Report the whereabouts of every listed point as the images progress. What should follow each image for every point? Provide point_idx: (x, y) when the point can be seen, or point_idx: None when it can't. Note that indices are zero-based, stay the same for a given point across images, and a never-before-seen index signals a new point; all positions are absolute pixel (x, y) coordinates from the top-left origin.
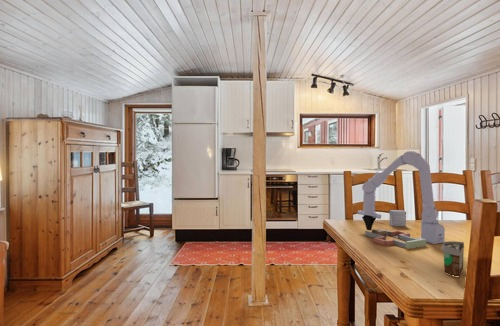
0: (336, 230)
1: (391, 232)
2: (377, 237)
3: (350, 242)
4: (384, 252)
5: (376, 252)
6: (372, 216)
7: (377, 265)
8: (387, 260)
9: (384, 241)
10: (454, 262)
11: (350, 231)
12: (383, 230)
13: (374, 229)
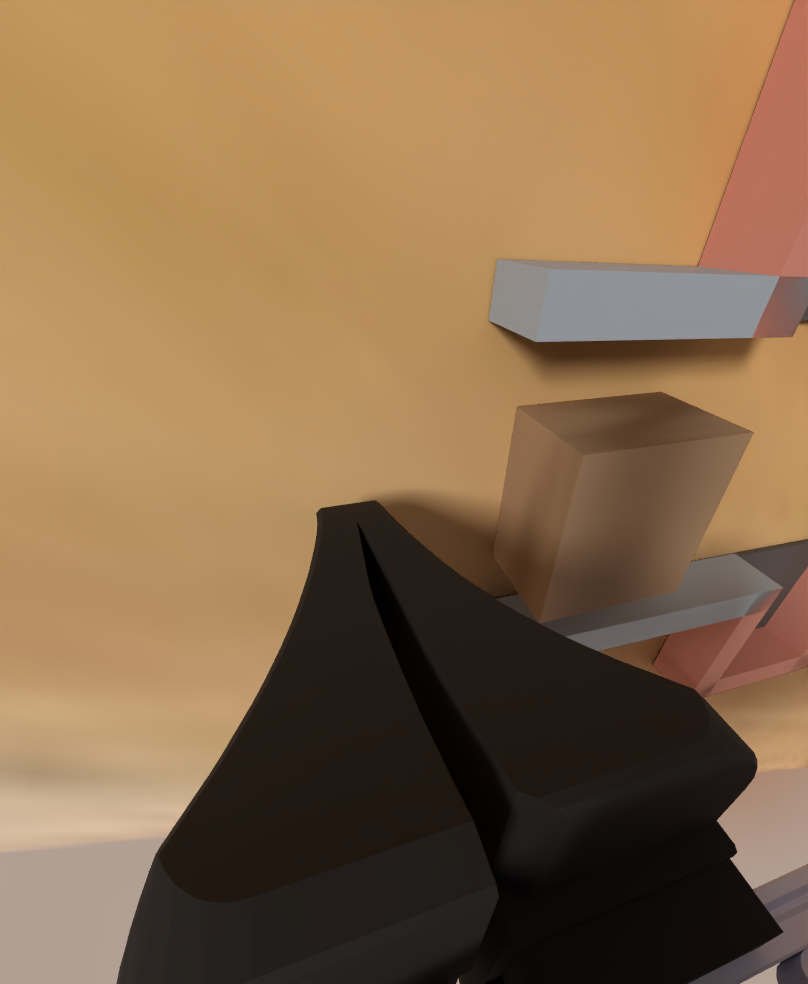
0: (38, 844)
1: (801, 287)
2: (717, 669)
3: None
4: (789, 691)
5: (751, 722)
6: (734, 963)
7: (794, 761)
8: None
9: (798, 667)
10: None
11: (154, 720)
12: (711, 467)
13: (556, 573)
